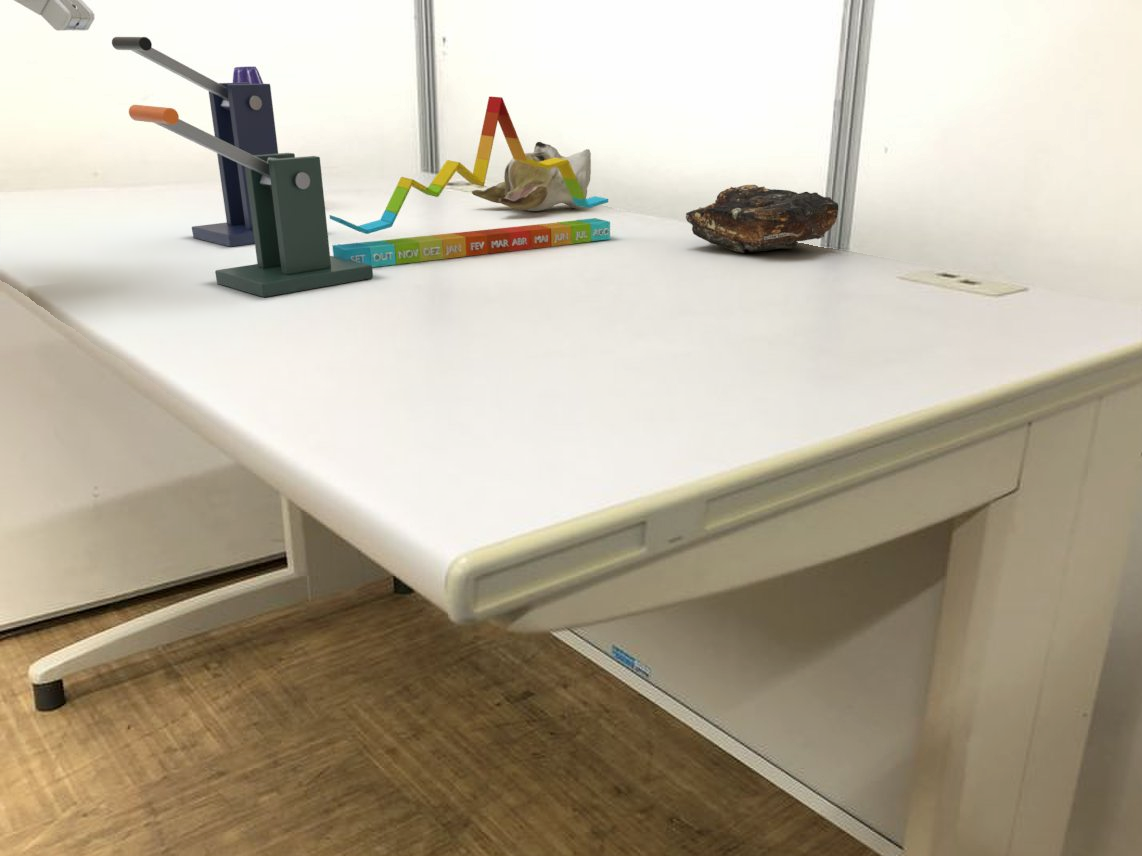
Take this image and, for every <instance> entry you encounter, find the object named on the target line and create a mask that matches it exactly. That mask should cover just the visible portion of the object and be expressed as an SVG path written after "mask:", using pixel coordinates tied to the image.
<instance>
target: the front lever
mask: <svg viewBox="0 0 1142 856" xmlns="http://www.w3.org/2000/svg"><path fill="white" fill-rule="evenodd" d="M128 115H129V117H130V118H131V120H133V121H137V122H145V123H153V124H156V125H157V126H160V127H162V128H163V129H166V130H168V131H170V132H171V133H174V134H176V135H178V136H180V137H182V138H184V139H187V140H189V141H190V142H193V143H195V144H198V145H199V146H202V147H203V148H205V149H208V150H210V151H212V152H214V153H216V154H217V153H218V154H220V155H222V156H224V157H226V158H228V159H231V160H233V161H235V162H237V163H239V164H241V165H243V166H245V167H247V168H249V169H251V170H254V171H256V172H258V173H260V174H262V178H261V181H260V184H262V185H264V186H266V187H268V188H271V179H270V171H269V163H268V160H269V159H277V158H270V157H268V160H267V162H266V161H264V160H262V159H260V158H258V157H255V156H253V155H251V154H249V153H247V152H245V151H243V150H241V149H239V148H237V147H235V146H233V145H231V144H229V143H227V142H225V141H223V140H221V139H219V138H217V137H215V135H213V134H210V133H209V132H206V131H204V130H202V129H201V128H198V127H196V126H195V125H192V124H190V123H189V122H186V121H185V120H182V119H180V115H179V113H178V111H177V110H176V109H174V108H172V107H164V106H155V105H154V106H153V105H143V104H132V105H131V106H130V107H129V108H128ZM271 189H272V188H271Z"/></svg>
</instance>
